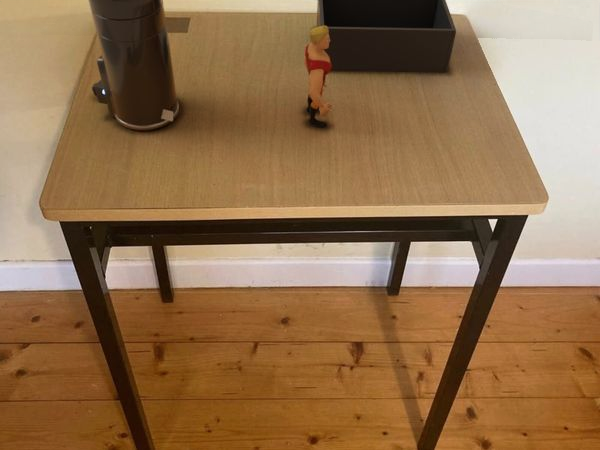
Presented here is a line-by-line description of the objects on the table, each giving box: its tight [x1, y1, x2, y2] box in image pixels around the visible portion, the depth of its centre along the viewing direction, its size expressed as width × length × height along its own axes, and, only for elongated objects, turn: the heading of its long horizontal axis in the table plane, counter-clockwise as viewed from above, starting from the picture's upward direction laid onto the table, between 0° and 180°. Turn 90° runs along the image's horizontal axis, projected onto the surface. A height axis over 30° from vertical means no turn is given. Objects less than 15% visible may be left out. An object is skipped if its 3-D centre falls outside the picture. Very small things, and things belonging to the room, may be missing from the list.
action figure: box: [303, 25, 333, 128], centre depth 88 cm, size 10×4×15 cm, turn 6°
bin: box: [316, 0, 457, 73], centre depth 104 cm, size 21×13×8 cm, turn 91°
